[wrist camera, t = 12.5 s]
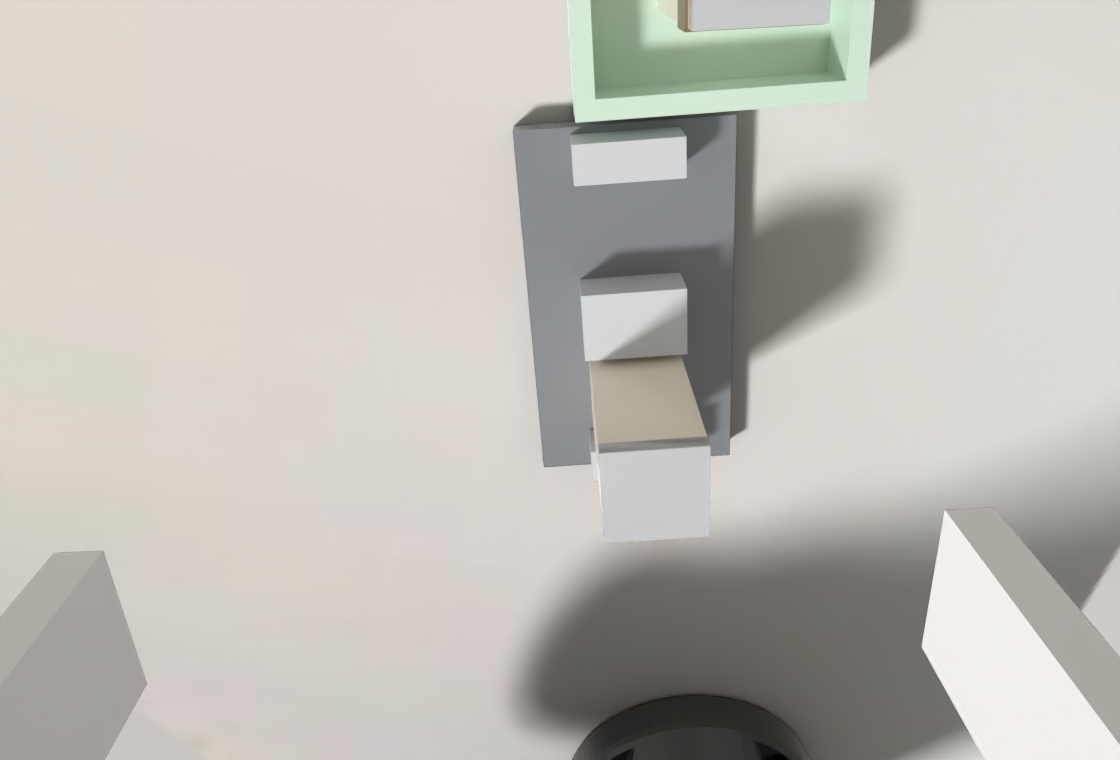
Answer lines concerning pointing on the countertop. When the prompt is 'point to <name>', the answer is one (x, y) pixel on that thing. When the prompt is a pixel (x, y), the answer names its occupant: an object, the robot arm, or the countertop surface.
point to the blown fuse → (744, 13)
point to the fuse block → (627, 261)
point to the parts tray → (710, 62)
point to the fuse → (649, 450)
